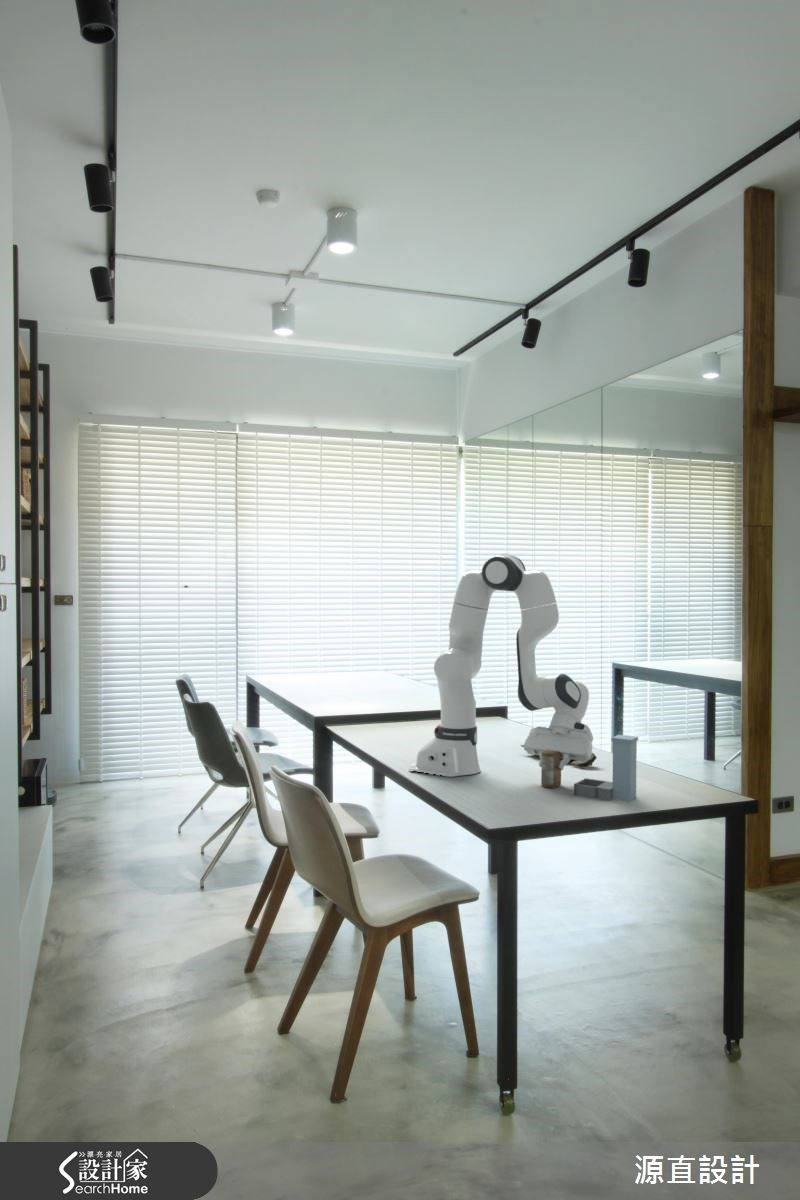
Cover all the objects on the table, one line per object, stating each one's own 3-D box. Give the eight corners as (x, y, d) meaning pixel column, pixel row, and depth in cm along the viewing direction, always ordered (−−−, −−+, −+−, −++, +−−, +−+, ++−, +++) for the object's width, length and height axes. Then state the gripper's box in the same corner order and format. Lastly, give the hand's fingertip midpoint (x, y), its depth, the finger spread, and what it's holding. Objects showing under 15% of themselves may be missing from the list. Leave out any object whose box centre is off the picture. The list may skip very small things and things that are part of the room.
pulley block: (575, 751, 267) (519, 736, 294) (573, 769, 267) (517, 752, 293) (609, 754, 274) (551, 739, 300) (606, 771, 273) (549, 755, 300)
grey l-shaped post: (573, 794, 238) (574, 734, 237) (585, 788, 245) (585, 730, 244) (629, 803, 229) (629, 740, 228) (639, 796, 236) (639, 735, 236)
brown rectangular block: (540, 786, 246) (541, 752, 246) (548, 782, 251) (548, 749, 251) (553, 788, 244) (553, 754, 244) (560, 784, 249) (561, 751, 248)
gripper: (529, 719, 259) (515, 756, 251) (593, 726, 248) (580, 765, 240) (535, 732, 263) (521, 769, 255) (598, 739, 251) (586, 778, 243)
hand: (550, 767), depth 247 cm, fingers closed on brown rectangular block, 4 cm apart
